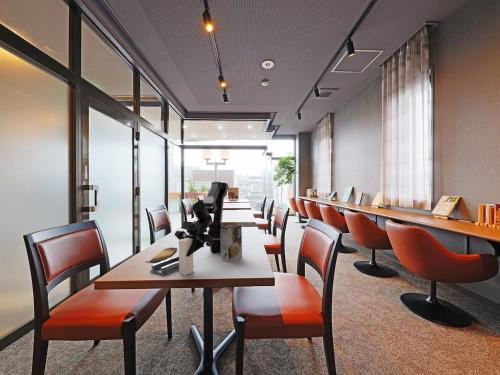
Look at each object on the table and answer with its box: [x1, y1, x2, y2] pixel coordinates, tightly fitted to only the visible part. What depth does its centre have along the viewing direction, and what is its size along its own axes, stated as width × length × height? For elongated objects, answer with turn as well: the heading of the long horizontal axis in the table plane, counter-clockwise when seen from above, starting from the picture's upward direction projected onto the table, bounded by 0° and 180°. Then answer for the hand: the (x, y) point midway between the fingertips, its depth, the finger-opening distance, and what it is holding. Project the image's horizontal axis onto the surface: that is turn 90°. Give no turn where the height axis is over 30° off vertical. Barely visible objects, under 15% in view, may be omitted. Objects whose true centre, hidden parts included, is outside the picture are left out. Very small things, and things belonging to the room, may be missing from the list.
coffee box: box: [220, 224, 243, 263], centre depth 117 cm, size 9×6×16 cm
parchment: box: [145, 247, 178, 263], centre depth 124 cm, size 25×10×1 cm, turn 0°
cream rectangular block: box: [178, 238, 194, 276], centre depth 99 cm, size 4×4×14 cm
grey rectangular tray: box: [150, 255, 179, 277], centre depth 105 cm, size 16×8×3 cm, turn 149°
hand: (183, 255), depth 97 cm, fingers closed on cream rectangular block, 3 cm apart
